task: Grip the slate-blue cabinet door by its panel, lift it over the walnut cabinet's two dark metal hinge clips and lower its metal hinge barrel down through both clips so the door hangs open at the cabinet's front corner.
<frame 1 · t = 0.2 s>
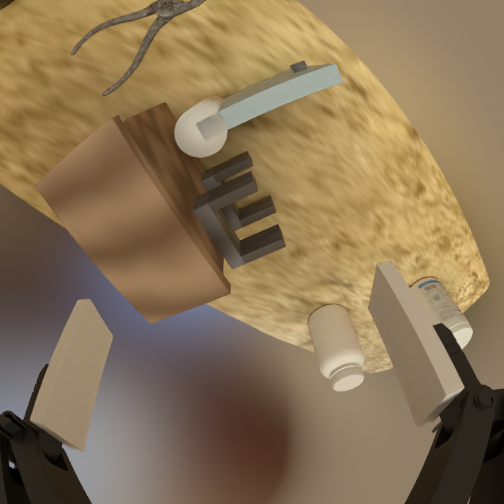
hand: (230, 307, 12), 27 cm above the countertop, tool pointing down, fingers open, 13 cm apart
pliers: (137, 21, 24), on the countertop
pill bottle: (327, 316, 53), on the countertop
supplement tub: (420, 292, 52), on the countertop
door: (213, 111, 32), on the countertop
cabinet: (169, 169, 35), on the countertop
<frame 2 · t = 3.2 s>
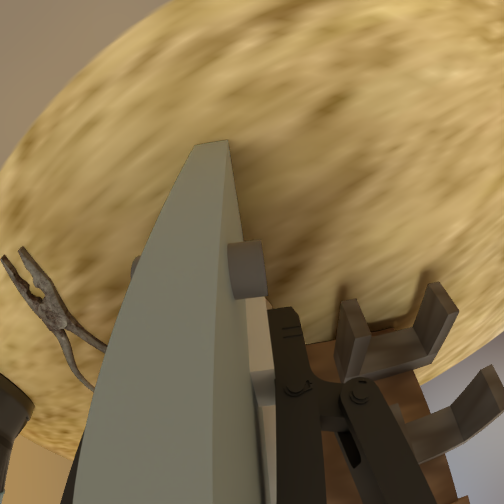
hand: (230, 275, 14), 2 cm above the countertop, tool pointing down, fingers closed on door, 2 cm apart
pliers: (73, 340, 22), on the countertop
door: (243, 314, 19), on the countertop, touching gripper
cabinet: (301, 371, 24), on the countertop
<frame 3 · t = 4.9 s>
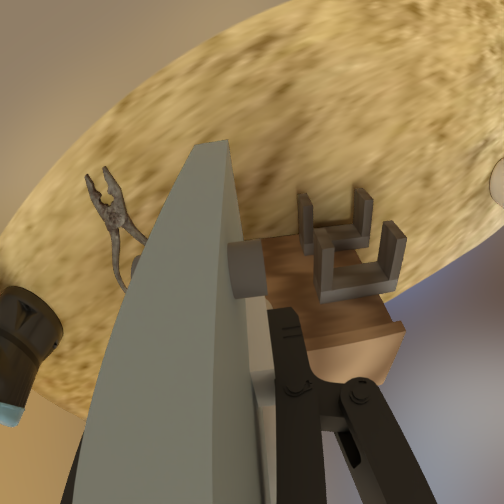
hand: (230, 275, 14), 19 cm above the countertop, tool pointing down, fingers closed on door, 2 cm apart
pliers: (121, 241, 35), on the countertop
pill bottle: (502, 178, 31), on the countertop
door: (243, 314, 19), point 16 cm above the countertop, touching gripper
cabinet: (281, 262, 38), on the countertop
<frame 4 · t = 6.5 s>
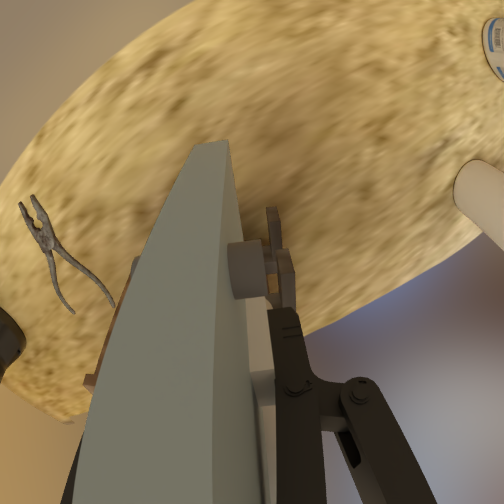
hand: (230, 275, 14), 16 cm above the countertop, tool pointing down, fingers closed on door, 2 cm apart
pliers: (57, 261, 33), on the countertop
pill bottle: (470, 184, 30), on the countertop
supplement tub: (500, 49, 18), on the countertop
door: (243, 314, 19), point 14 cm above the countertop, touching gripper
cabinet: (201, 284, 36), on the countertop
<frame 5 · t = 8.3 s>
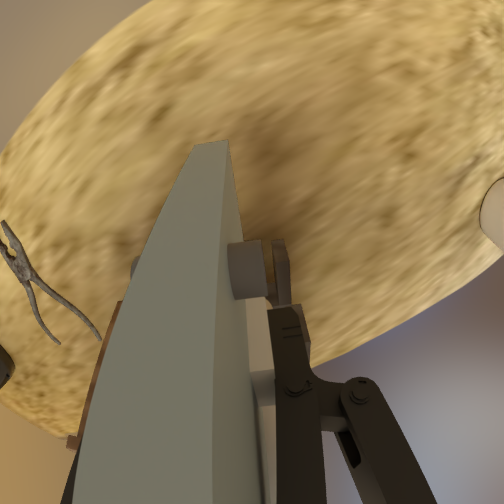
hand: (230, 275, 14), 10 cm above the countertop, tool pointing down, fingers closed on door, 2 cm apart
pliers: (36, 291, 28), on the countertop
pill bottle: (497, 205, 25), on the countertop
door: (243, 314, 19), point 8 cm above the countertop, touching gripper
cabinet: (196, 321, 31), on the countertop
when the fingers open (3 cm above the countertop, at t = 9.9 s): door stays where it is, on the countertop.
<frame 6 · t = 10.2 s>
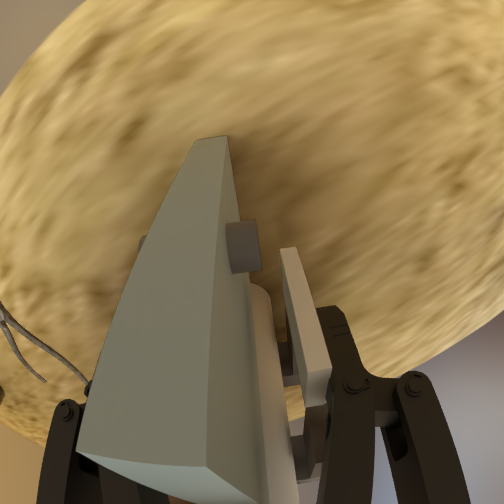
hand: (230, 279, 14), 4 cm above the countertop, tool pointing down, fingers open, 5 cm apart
pliers: (14, 331, 23), on the countertop
door: (242, 304, 20), on the countertop
cabinet: (192, 373, 25), on the countertop
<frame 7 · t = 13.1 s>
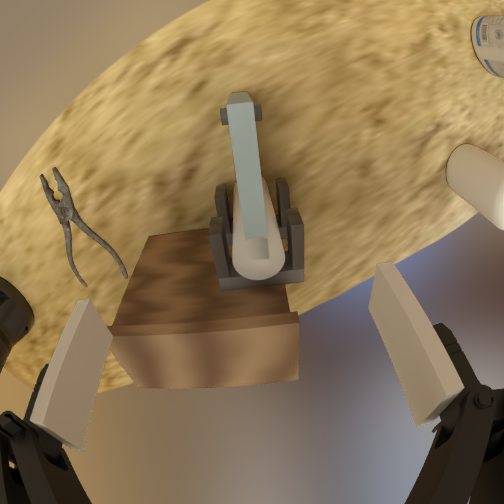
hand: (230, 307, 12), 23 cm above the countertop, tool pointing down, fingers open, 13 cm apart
pliers: (73, 233, 36), on the countertop
pill bottle: (462, 167, 32), on the countertop
supplement tub: (488, 44, 21), on the countertop
door: (250, 189, 34), on the countertop
cabinet: (213, 254, 39), on the countertop
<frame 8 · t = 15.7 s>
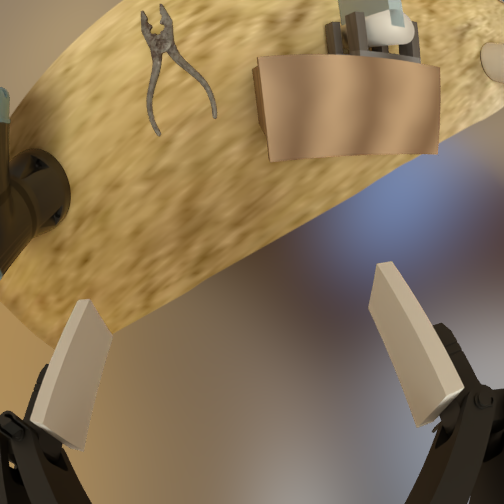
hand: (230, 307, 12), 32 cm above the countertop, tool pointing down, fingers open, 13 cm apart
pliers: (161, 71, 32), on the countertop
pill bottle: (491, 61, 29), on the countertop
door: (348, 37, 30), on the countertop
cabinet: (313, 92, 35), on the countertop
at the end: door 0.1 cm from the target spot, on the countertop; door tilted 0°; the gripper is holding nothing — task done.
